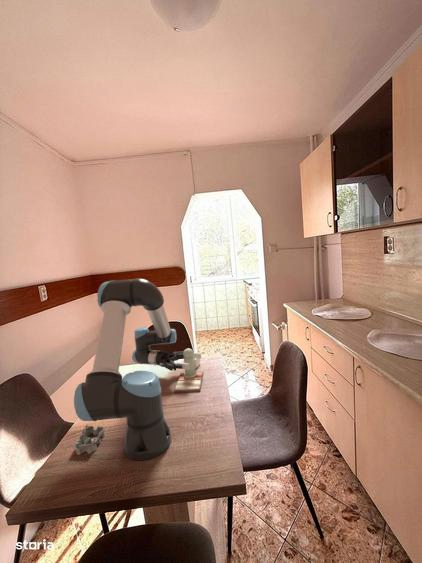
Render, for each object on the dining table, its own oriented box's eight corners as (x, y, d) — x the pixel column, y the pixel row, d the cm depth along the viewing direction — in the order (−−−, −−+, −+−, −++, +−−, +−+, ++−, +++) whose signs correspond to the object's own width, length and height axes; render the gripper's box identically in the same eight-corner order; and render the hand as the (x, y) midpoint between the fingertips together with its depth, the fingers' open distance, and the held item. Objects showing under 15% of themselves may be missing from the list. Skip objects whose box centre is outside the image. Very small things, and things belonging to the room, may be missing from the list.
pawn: (189, 380, 127) (186, 351, 125) (181, 376, 131) (178, 349, 130) (199, 375, 131) (196, 347, 130) (191, 371, 136) (189, 345, 134)
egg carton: (88, 434, 95) (86, 423, 94) (108, 432, 94) (107, 422, 94) (71, 456, 84) (69, 444, 84) (94, 454, 84) (92, 442, 83)
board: (200, 391, 118) (200, 388, 117) (174, 392, 118) (173, 390, 118) (203, 373, 135) (203, 371, 135) (180, 375, 136) (180, 372, 136)
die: (196, 368, 143) (195, 359, 142) (188, 367, 145) (187, 358, 144) (200, 364, 148) (199, 355, 147) (192, 363, 149) (191, 355, 149)
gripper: (172, 356, 149) (205, 358, 141) (145, 375, 126) (183, 379, 118) (170, 343, 149) (204, 345, 140) (143, 360, 126) (182, 363, 117)
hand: (195, 361), depth 129 cm, fingers open, 13 cm apart
